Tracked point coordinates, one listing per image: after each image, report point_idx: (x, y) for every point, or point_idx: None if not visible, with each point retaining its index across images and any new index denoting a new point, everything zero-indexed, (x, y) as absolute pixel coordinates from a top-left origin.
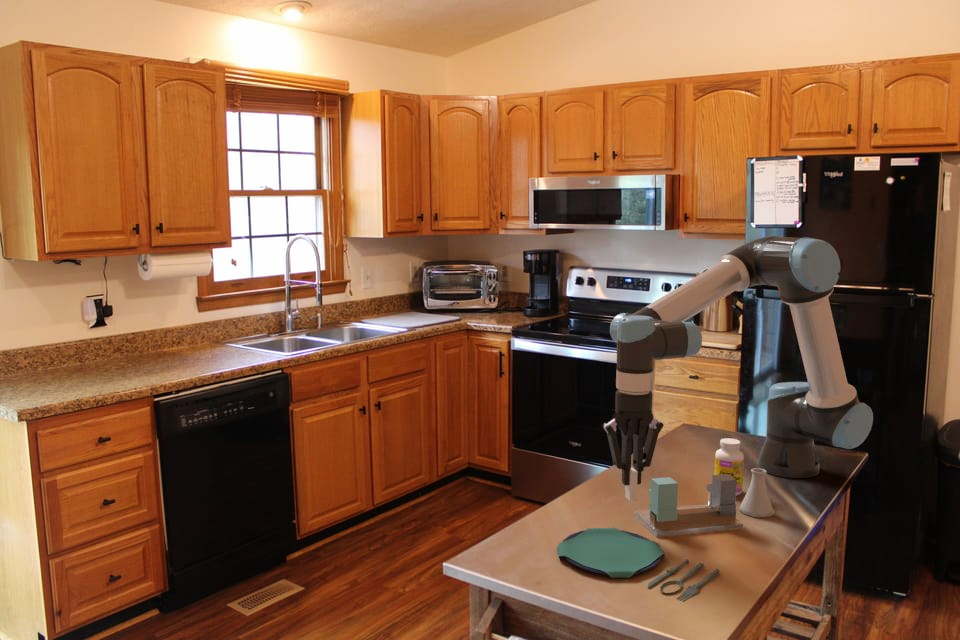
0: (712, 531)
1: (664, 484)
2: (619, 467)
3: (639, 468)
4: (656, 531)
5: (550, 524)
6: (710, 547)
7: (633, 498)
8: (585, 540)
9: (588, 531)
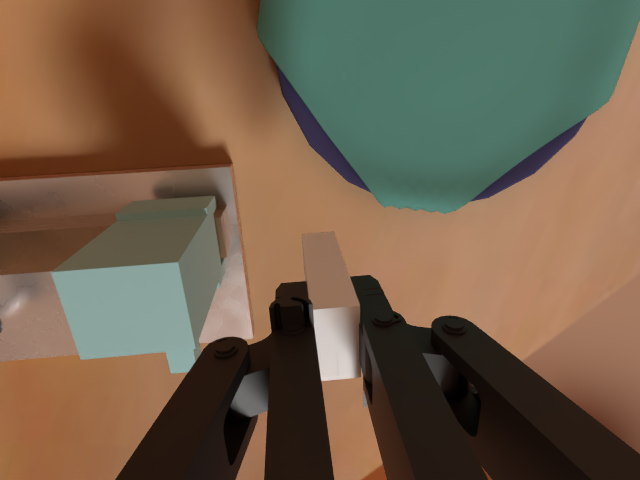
0: (12, 177)
1: (140, 264)
2: (458, 320)
3: (300, 316)
4: (230, 169)
5: (516, 295)
6: (50, 42)
7: (318, 237)
8: (495, 138)
9: (467, 189)
